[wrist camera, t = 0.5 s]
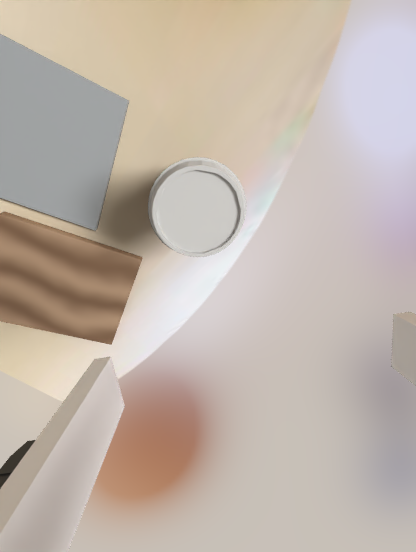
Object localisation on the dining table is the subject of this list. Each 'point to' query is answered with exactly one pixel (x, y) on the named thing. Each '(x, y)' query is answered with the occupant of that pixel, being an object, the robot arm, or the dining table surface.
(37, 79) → the slate grey mat
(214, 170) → the disposable coffee cup
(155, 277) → the dining table surface
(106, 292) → the walnut board
